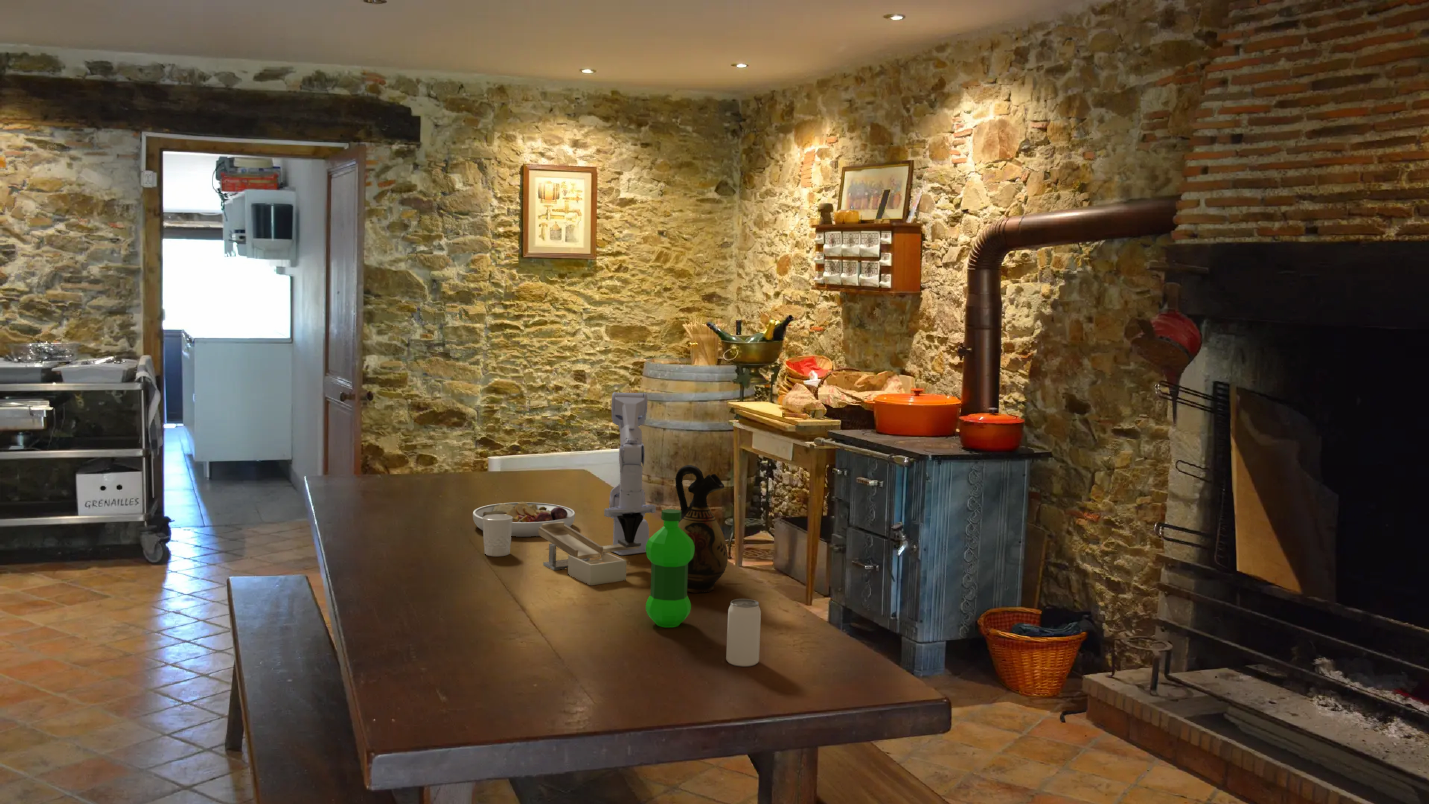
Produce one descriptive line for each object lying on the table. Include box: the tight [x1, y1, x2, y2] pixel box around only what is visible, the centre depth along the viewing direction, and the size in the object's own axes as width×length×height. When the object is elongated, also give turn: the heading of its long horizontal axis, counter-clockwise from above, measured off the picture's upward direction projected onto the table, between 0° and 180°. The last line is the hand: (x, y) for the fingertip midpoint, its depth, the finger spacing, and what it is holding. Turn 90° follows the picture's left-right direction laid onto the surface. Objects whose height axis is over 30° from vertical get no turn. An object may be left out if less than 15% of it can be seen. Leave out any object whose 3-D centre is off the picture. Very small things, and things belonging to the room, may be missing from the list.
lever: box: [538, 522, 641, 559], centre depth 294 cm, size 19×21×3 cm
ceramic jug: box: [675, 464, 729, 594], centre depth 273 cm, size 17×15×30 cm
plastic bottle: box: [645, 508, 695, 628], centre depth 243 cm, size 10×10×25 cm
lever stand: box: [542, 543, 591, 571], centre depth 291 cm, size 12×6×6 cm, turn 126°
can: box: [725, 598, 762, 668], centre depth 220 cm, size 6×6×12 cm
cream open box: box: [567, 552, 627, 586], centre depth 280 cm, size 10×11×5 cm
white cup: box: [482, 514, 513, 557], centre depth 301 cm, size 8×8×10 cm
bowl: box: [472, 500, 576, 538], centre depth 334 cm, size 30×30×8 cm
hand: (629, 542), depth 291 cm, fingers closed, pressing on lever
